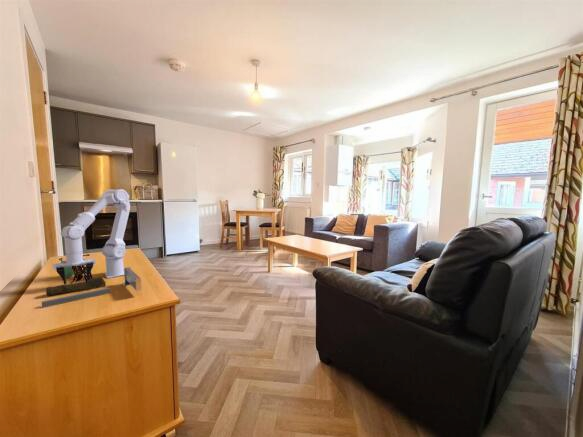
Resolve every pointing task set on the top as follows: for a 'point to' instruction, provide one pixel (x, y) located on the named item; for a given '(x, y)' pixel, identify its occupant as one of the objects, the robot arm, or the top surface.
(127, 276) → the swing gate
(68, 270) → the alien toy
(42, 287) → the top surface
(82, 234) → the robot arm
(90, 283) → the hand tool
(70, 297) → the bar
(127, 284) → the gate base
